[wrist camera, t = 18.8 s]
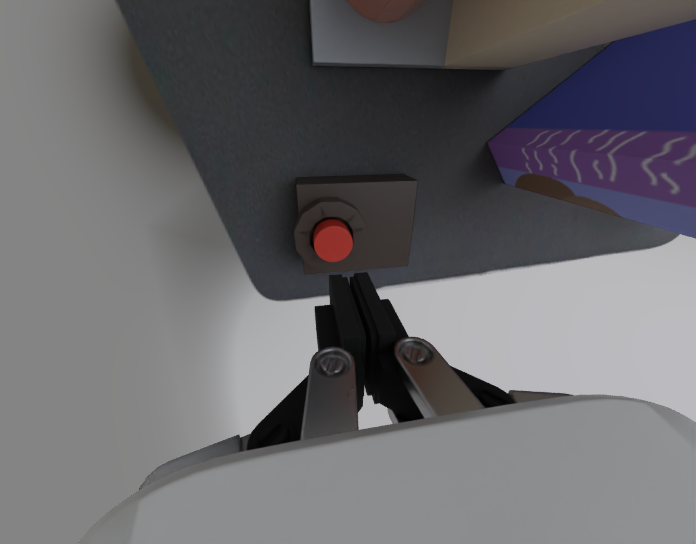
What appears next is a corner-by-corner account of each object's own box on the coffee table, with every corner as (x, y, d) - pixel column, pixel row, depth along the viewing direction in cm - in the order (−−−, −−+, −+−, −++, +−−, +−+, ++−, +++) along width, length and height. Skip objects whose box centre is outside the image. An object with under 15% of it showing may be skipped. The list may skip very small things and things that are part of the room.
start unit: (299, 259, 28) (299, 283, 23) (291, 177, 24) (289, 189, 20) (397, 251, 29) (414, 274, 25) (404, 173, 25) (426, 183, 21)
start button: (314, 254, 23) (315, 263, 21) (311, 219, 21) (312, 227, 20) (349, 251, 23) (352, 260, 22) (349, 217, 22) (353, 224, 20)
